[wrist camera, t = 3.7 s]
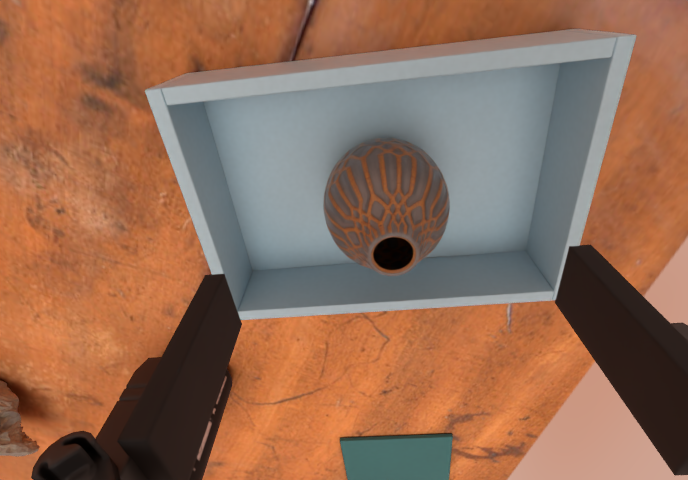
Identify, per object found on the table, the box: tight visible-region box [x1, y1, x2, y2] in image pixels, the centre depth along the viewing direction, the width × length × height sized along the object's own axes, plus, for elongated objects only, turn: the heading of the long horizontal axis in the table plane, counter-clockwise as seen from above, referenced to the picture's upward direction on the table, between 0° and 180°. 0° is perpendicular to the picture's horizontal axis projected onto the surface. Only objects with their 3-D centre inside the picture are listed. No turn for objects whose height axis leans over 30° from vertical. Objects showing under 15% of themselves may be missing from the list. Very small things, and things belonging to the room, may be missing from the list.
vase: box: [323, 138, 450, 276], centre depth 20 cm, size 7×7×9 cm
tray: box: [145, 28, 636, 320], centre depth 22 cm, size 22×15×5 cm
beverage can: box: [189, 369, 232, 480], centre depth 30 cm, size 7×7×12 cm
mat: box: [340, 434, 453, 480], centre depth 43 cm, size 12×12×1 cm
